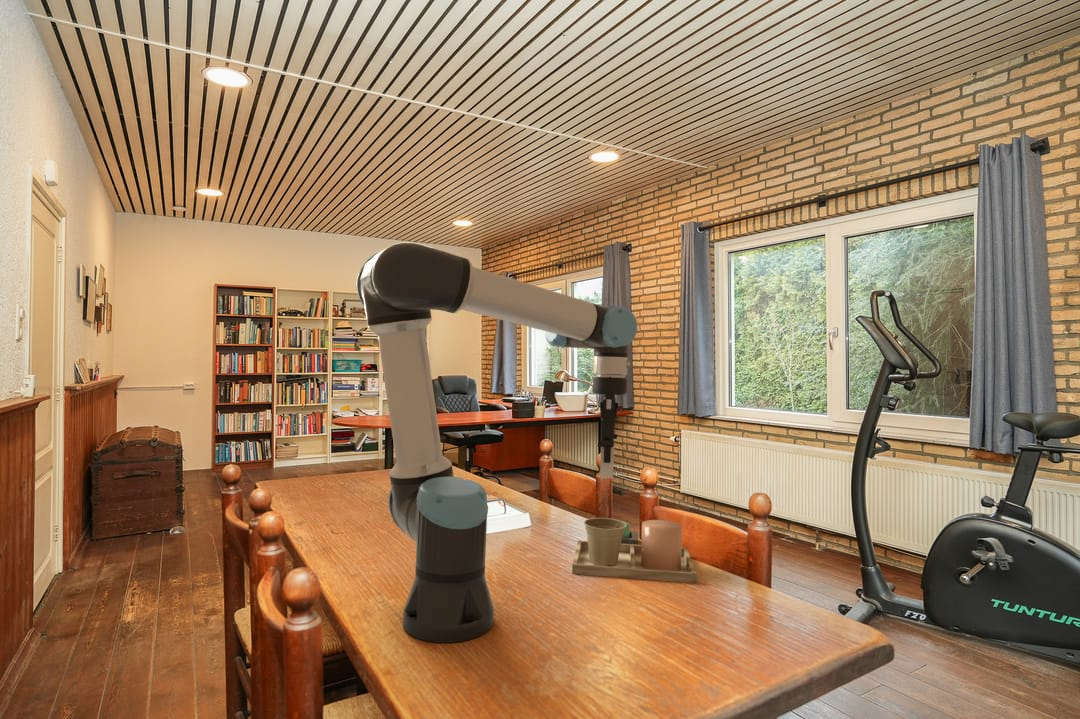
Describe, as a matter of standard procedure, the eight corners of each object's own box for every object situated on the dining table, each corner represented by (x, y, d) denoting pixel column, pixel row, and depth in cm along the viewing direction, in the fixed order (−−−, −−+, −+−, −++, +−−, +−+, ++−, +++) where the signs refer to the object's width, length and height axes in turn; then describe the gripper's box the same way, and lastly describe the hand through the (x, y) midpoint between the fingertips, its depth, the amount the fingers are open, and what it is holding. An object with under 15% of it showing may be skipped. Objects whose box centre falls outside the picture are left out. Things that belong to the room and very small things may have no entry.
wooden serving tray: (696, 587, 121) (696, 574, 121) (572, 577, 124) (572, 564, 124) (686, 559, 139) (686, 548, 139) (577, 551, 142) (578, 540, 142)
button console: (638, 553, 142) (638, 540, 142) (604, 550, 143) (604, 538, 143) (637, 543, 150) (637, 531, 150) (605, 540, 151) (605, 529, 151)
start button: (629, 546, 144) (630, 526, 144) (612, 545, 145) (613, 524, 145) (629, 542, 148) (629, 521, 148) (613, 540, 149) (613, 520, 149)
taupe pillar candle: (683, 574, 126) (684, 531, 126) (641, 571, 127) (643, 529, 127) (678, 561, 134) (679, 521, 135) (639, 558, 135) (640, 518, 136)
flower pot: (624, 556, 136) (625, 518, 137) (626, 570, 127) (627, 530, 127) (583, 554, 137) (584, 516, 137) (581, 568, 128) (583, 527, 128)
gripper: (628, 377, 120) (624, 484, 120) (626, 376, 145) (623, 464, 144) (590, 376, 121) (587, 481, 121) (595, 375, 146) (592, 462, 145)
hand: (607, 472), depth 132 cm, fingers open, 13 cm apart
